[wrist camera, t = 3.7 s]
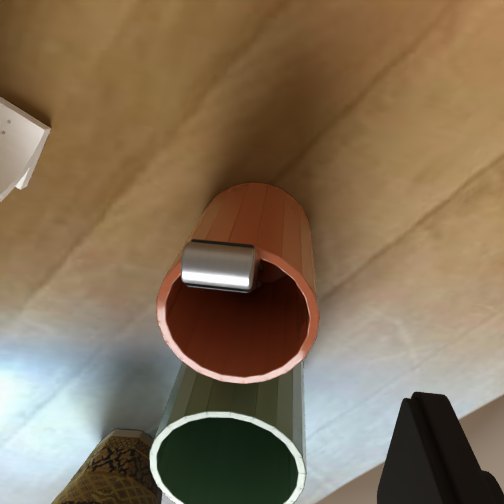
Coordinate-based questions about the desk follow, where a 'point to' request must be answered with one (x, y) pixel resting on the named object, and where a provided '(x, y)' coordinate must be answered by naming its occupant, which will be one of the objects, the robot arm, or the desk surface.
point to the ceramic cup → (115, 473)
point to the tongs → (221, 266)
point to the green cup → (232, 440)
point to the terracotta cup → (247, 304)
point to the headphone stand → (18, 146)
